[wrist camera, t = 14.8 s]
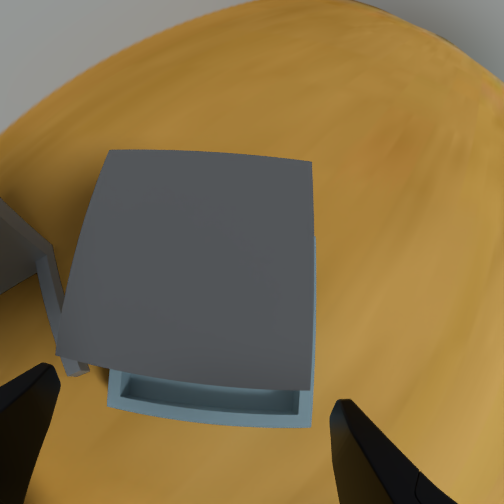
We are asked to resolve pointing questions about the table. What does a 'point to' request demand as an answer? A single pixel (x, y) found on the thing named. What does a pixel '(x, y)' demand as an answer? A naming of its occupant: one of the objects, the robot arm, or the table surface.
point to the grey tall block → (196, 270)
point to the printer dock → (33, 271)
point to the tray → (214, 398)
